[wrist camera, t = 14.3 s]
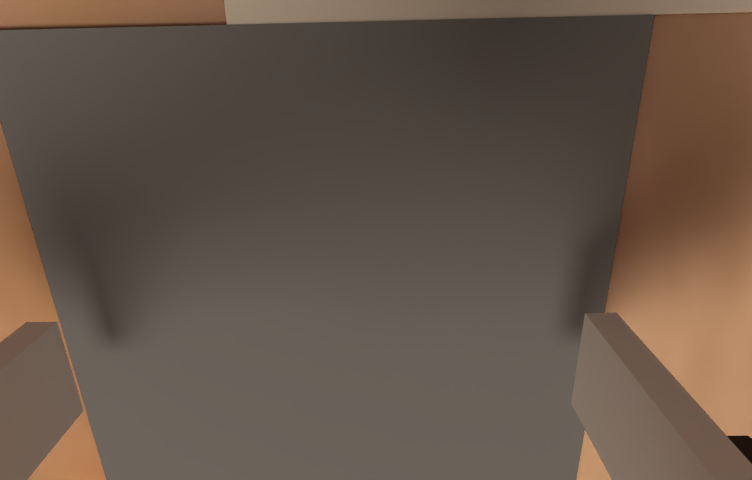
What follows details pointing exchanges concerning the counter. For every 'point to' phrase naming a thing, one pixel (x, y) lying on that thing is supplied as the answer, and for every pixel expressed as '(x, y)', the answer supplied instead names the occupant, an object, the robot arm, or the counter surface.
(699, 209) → the counter surface
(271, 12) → the tile
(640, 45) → the slate coaster
